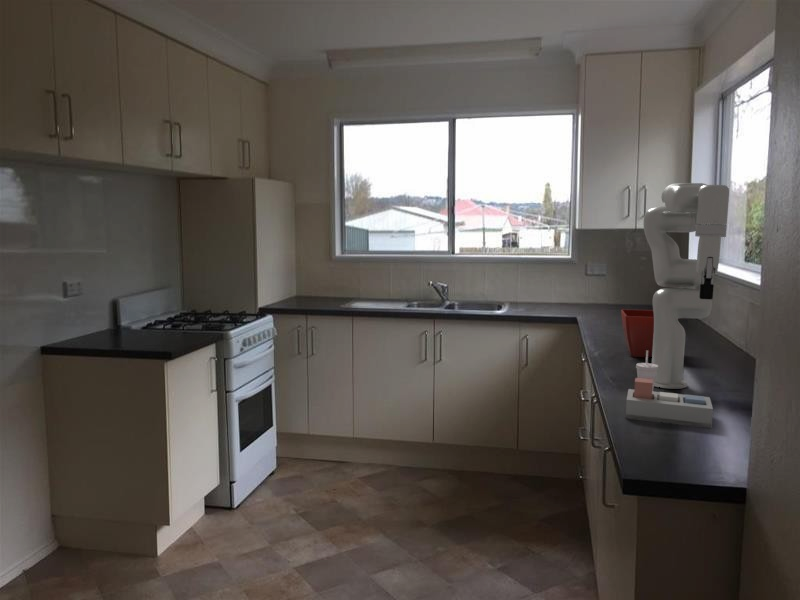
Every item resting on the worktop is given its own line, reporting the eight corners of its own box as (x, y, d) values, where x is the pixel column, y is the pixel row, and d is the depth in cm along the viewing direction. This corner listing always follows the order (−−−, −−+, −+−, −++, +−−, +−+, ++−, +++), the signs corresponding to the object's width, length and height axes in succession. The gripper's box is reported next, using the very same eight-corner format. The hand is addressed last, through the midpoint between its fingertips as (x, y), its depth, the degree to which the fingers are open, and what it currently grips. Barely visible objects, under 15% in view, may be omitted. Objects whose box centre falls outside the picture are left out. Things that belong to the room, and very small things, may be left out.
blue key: (684, 410, 176) (685, 394, 175) (702, 412, 174) (703, 396, 174) (685, 415, 172) (686, 398, 171) (703, 417, 170) (704, 400, 169)
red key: (634, 393, 180) (635, 377, 180) (651, 395, 178) (652, 379, 178) (633, 397, 176) (634, 381, 175) (651, 399, 174) (652, 383, 174)
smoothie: (651, 393, 199) (654, 349, 198) (660, 399, 193) (663, 353, 191) (630, 393, 199) (633, 348, 197) (639, 399, 193) (641, 353, 191)
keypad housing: (627, 406, 185) (628, 388, 184) (708, 415, 177) (709, 397, 176) (625, 418, 174) (626, 399, 173) (711, 428, 166) (712, 408, 165)
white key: (658, 407, 178) (659, 391, 178) (676, 409, 177) (677, 393, 176) (658, 412, 174) (659, 395, 173) (676, 414, 172) (677, 397, 172)
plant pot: (623, 358, 250) (625, 315, 248) (618, 348, 269) (621, 308, 267) (676, 361, 246) (678, 317, 244) (667, 351, 264) (670, 310, 262)
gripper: (694, 230, 182) (689, 295, 184) (696, 231, 168) (692, 301, 170) (723, 231, 179) (718, 296, 181) (729, 232, 165) (723, 302, 168)
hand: (705, 298), depth 176 cm, fingers closed
